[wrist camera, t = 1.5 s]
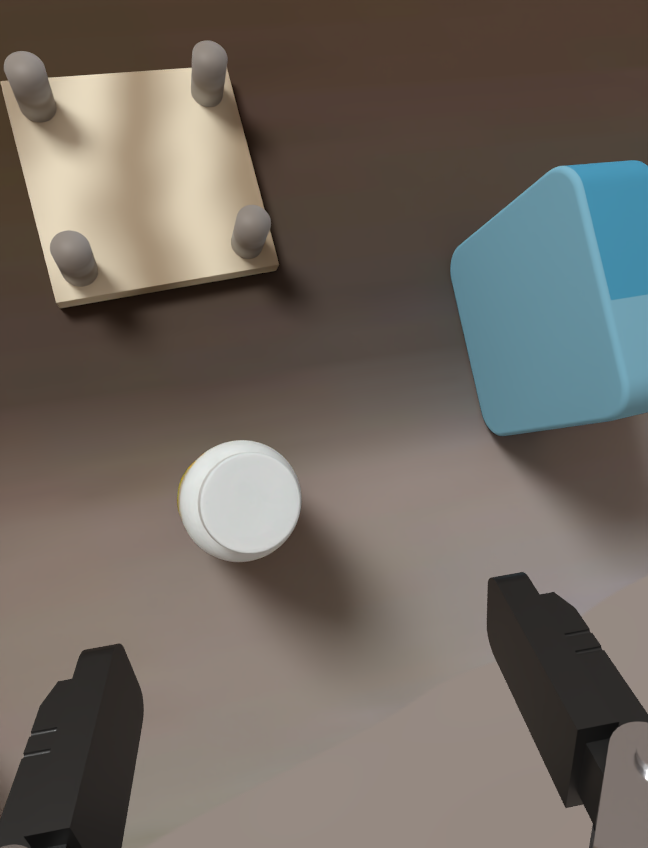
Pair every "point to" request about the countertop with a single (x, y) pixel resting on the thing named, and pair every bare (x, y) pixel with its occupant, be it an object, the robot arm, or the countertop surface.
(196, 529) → the supplement bottle
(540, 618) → the robot arm
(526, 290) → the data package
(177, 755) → the countertop surface
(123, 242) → the pin base
